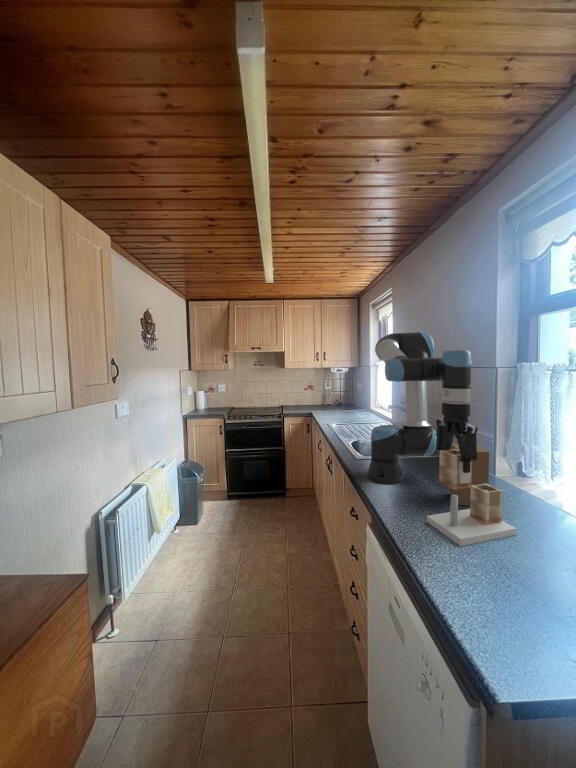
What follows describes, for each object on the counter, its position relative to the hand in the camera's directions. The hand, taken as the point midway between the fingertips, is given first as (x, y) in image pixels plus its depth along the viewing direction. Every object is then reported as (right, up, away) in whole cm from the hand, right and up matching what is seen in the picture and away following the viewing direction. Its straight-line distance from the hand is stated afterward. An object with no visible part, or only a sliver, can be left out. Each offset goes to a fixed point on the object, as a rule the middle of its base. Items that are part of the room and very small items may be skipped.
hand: (454, 478), depth 95 cm
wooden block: (+17, -15, +22) cm, 32 cm away
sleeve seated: (+12, -14, +4) cm, 19 cm away
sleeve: (0, -2, 0) cm, 2 cm away
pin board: (+6, -16, +3) cm, 18 cm away
